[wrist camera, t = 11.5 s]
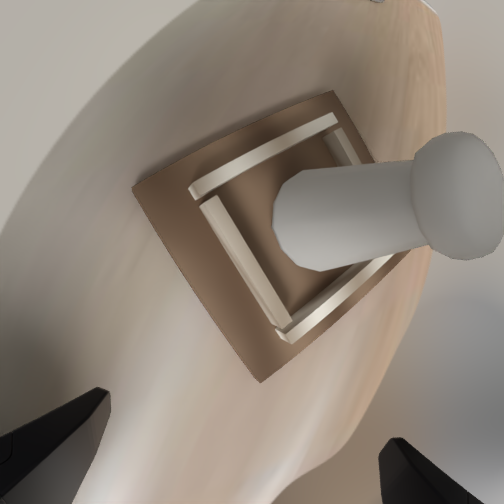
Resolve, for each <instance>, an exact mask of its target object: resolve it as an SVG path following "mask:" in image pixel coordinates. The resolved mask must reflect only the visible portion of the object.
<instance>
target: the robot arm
mask: <svg viewBox="0 0 504 504" xmlns="http://www.w3.org/2000/svg"><path fill="white" fill-rule="evenodd" d="M110 413H111V399H110V392H109V391H108V390H105V389H102V388H100V387H96V388H94V389H92V390H90V391H88V392H86V393H85V394H83V395H81V396H79V397H77V398H75V399H73V400H72V401H70V402H68V403H66V404H64V405H62V406H60V407H58V408H56V409H55V410H53V411H51V412H49V413H47V414H45V415H43V416H41V417H39V418H37V419H35V420H33V421H31V422H29V423H27V424H25V425H23V426H22V427H20V428H18V429H16V430H14V431H13V432H9V433H7V434H5V435H3V436H1V437H0V504H72V502H73V500H74V498H75V496H76V493H77V491H78V489H79V487H80V485H81V483H82V481H83V479H84V477H85V475H86V473H87V471H88V469H89V467H90V465H91V463H92V461H93V459H94V457H95V455H96V453H97V450H98V447H99V444H100V442H101V439H102V436H103V433H104V430H105V428H106V425H107V422H108V419H109V417H110ZM378 460H379V471H380V486H381V496H382V502H383V504H484V503H482V502H481V501H480V500H478V499H477V498H476V497H474V496H473V495H472V494H471V493H469V492H467V490H465V489H464V488H463V487H462V486H460V485H459V484H458V483H457V482H455V481H454V480H453V479H451V478H450V477H449V476H448V475H447V474H445V473H444V472H443V471H442V470H441V469H439V468H438V467H437V466H435V464H433V463H432V462H431V461H430V460H428V459H427V458H426V457H425V456H424V455H422V454H421V453H420V452H419V451H418V450H416V449H415V448H414V447H413V446H412V445H411V444H409V443H408V442H407V441H406V440H405V439H403V438H401V437H399V438H398V437H397V438H391V439H390V440H389V441H388V442H387V444H386V445H385V446H384V448H383V449H382V450H381V452H380V453H379V458H378Z"/></svg>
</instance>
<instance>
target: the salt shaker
mask: <svg viewBox="0 0 504 504" xmlns="http://www.w3.org/2000/svg"><path fill="white" fill-rule="evenodd" d="M271 228H272V230H273V231H274V234H275V236H276V238H277V241H278V243H279V246H280V248H281V250H282V251H283V252H284V253H285V254H286V255H287V256H288V257H289V258H290V259H291V260H292V261H293V262H294V263H295V264H296V265H298V266H301V267H304V268H308V269H312V270H316V271H319V272H321V271H325V270H329V269H334V268H338V267H342V266H346V265H350V264H355V263H359V262H363V261H367V260H371V259H375V258H379V257H383V256H387V255H391V254H395V253H399V252H402V251H406V250H410V249H414V248H418V247H422V246H425V245H429V246H430V247H431V249H433V250H435V251H437V252H439V253H441V254H443V255H445V256H448V257H449V258H452V259H458V260H471V259H475V258H480V257H484V256H486V255H488V254H490V253H492V252H494V250H495V249H496V247H497V246H498V245H499V243H500V241H501V239H502V237H503V235H504V179H503V174H502V171H501V168H500V166H499V164H498V162H497V160H496V158H495V155H494V153H493V152H492V151H491V149H490V148H489V147H488V146H487V145H486V144H485V143H484V141H483V140H481V139H480V138H478V137H477V136H475V135H474V134H471V133H466V132H451V133H444V134H442V135H439V136H437V137H435V138H432V139H431V140H430V141H429V142H427V143H426V144H425V145H424V146H423V147H422V148H421V149H420V150H418V151H417V152H416V153H415V157H414V160H407V161H394V162H382V163H371V164H361V165H351V166H342V167H332V168H321V169H310V170H302V171H301V172H299V173H298V174H296V175H295V176H293V177H292V178H290V179H289V180H287V181H286V182H285V183H284V184H283V185H282V187H281V189H280V191H279V193H278V195H277V197H276V199H275V201H274V203H273V216H272V225H271Z"/></svg>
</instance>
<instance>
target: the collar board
mask: <svg viewBox="0 0 504 504" xmlns="http://www.w3.org/2000/svg"><path fill="white" fill-rule="evenodd" d="M371 163H375V162H374V160H373V159H372V157H371V155H370V153H369V151H368V149H367V147H366V145H365V144H364V142H363V140H362V138H361V136H360V135H359V133H358V131H357V129H356V127H355V126H354V124H353V122H352V121H351V119H350V117H349V115H348V114H347V112H346V110H345V109H344V107H343V105H342V104H341V102H340V101H339V99H338V97H337V96H336V94H335V93H334V91H333V90H332V91H329V92H326V93H324V94H321V95H319V96H316V97H313V98H311V99H308V100H306V101H303V102H301V103H298V104H296V105H293V106H291V107H289V108H286V109H284V110H281V111H279V112H277V113H274V114H272V115H270V116H268V117H265V118H263V119H261V120H259V121H256V122H254V123H252V124H250V125H248V126H246V127H243V128H241V129H239V130H237V131H235V132H233V133H231V134H229V135H227V136H225V137H223V138H221V139H219V140H217V141H215V142H213V143H211V144H209V145H207V146H205V147H203V148H201V149H199V150H197V151H195V152H193V153H191V154H189V155H188V156H186V157H184V158H182V159H180V160H178V161H177V162H175V163H173V164H171V165H169V166H168V167H166V168H164V169H162V170H160V171H159V172H157V173H155V174H153V175H152V176H150V177H148V178H147V179H145V180H143V181H142V182H140V183H138V184H137V185H135V186H133V187H132V192H133V193H134V195H135V197H136V199H137V200H138V202H139V204H140V205H141V207H142V209H143V211H144V212H145V214H146V216H147V217H148V219H149V221H150V222H151V224H152V226H153V227H154V229H155V231H156V232H157V234H158V236H159V237H160V239H161V240H162V242H163V244H164V245H165V247H166V248H167V250H168V252H169V253H170V255H171V256H172V258H173V260H174V261H175V263H176V264H177V266H178V267H179V269H180V271H181V272H182V274H183V275H184V277H185V278H186V280H187V281H188V283H189V284H190V286H191V288H192V289H193V291H194V292H195V294H196V295H197V297H198V298H199V300H200V301H201V303H202V304H203V306H204V307H205V308H206V310H207V311H208V313H209V314H210V316H211V317H212V319H213V320H214V322H215V323H216V325H217V326H218V327H219V329H220V330H221V332H222V333H223V335H224V336H225V337H226V339H227V340H228V342H229V343H230V345H231V346H232V347H233V349H234V350H235V352H236V353H237V354H238V356H239V357H240V358H241V360H242V361H243V363H244V364H245V365H246V367H247V368H248V369H249V371H250V372H251V374H252V375H253V376H254V378H255V379H256V380H257V381H258V382H259V383H262V382H263V381H264V380H266V379H267V378H268V377H270V376H271V375H272V374H273V373H275V372H276V371H277V370H279V369H280V368H281V367H282V366H284V365H285V364H286V363H287V362H289V361H290V360H291V359H292V358H294V357H295V356H296V355H297V354H299V353H300V352H301V351H302V350H304V349H305V348H306V347H307V346H308V345H310V344H311V343H312V342H313V341H314V340H316V339H317V338H318V337H319V336H320V335H321V334H323V333H324V332H325V331H326V330H327V329H328V328H330V327H331V326H332V325H333V324H334V323H335V322H336V321H338V320H339V319H340V318H341V317H342V316H343V315H344V314H345V313H347V312H348V311H349V310H350V309H351V308H352V307H353V306H354V305H355V304H356V303H357V302H359V301H360V300H361V299H362V298H363V297H364V296H365V295H366V294H367V293H368V292H369V291H370V290H371V289H372V288H373V287H374V286H376V285H377V284H378V283H379V282H380V281H381V280H382V279H383V278H384V277H385V276H386V275H387V274H388V273H389V272H390V271H391V270H392V269H393V268H394V267H395V266H396V265H397V264H398V263H399V262H400V261H401V260H402V259H403V258H404V257H405V256H406V255H407V254H408V253H409V252H410V251H411V249H410V250H406V251H402V252H399V253H395V254H391V255H387V256H383V257H379V258H375V259H371V260H367V261H363V262H359V263H355V264H350V265H346V266H342V267H338V268H334V269H329V270H325V271H321V272H319V271H316V270H312V269H308V268H304V267H301V266H298V265H296V264H295V263H294V262H293V261H292V260H291V259H290V258H289V257H288V256H287V255H286V254H285V253H284V252H283V251H282V250H281V248H280V246H279V243H278V241H277V238H276V236H275V234H274V231H273V230H272V228H271V225H272V216H273V203H274V201H275V199H276V197H277V195H278V193H279V191H280V189H281V187H282V185H283V184H284V183H285V182H286V181H287V180H289V179H290V178H292V177H293V176H295V175H296V174H298V173H299V172H301V171H302V170H310V169H321V168H332V167H342V166H351V165H361V164H371Z"/></svg>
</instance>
